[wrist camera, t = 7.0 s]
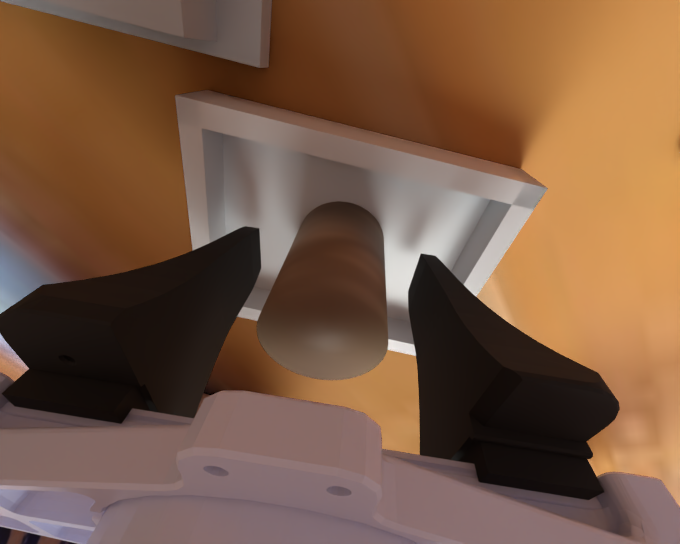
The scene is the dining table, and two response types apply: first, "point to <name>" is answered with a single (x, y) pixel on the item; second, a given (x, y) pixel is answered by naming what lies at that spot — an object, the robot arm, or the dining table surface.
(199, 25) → the grey rectangular tray
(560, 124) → the dining table surface
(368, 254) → the cylinder
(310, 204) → the white shallow tray
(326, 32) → the dining table surface
